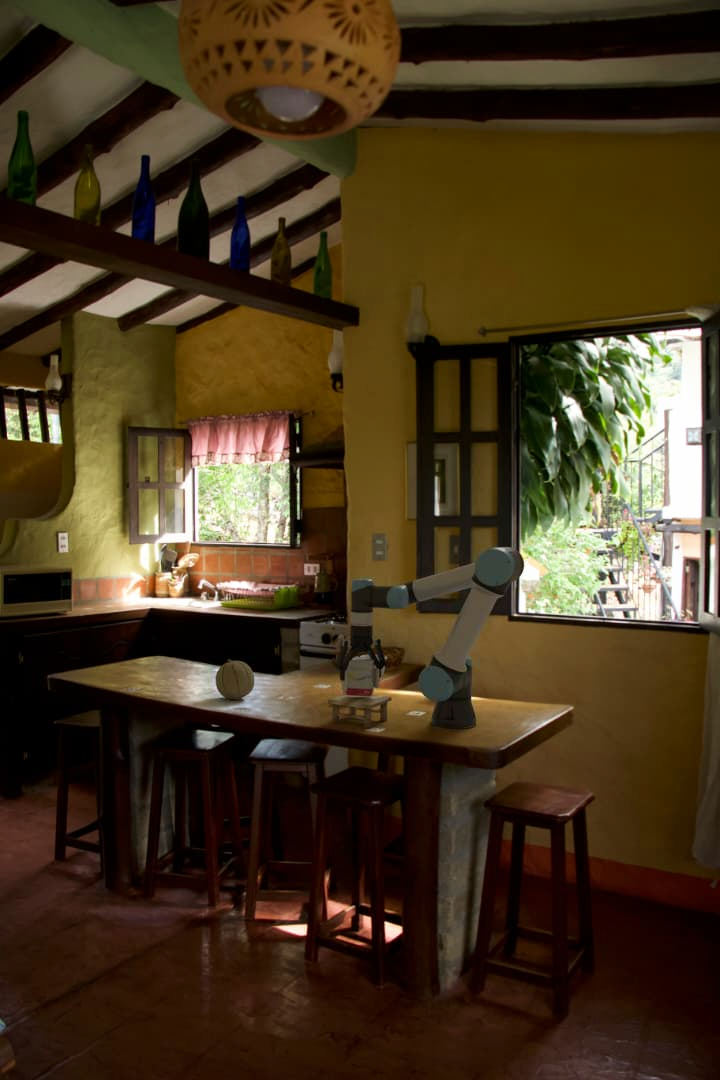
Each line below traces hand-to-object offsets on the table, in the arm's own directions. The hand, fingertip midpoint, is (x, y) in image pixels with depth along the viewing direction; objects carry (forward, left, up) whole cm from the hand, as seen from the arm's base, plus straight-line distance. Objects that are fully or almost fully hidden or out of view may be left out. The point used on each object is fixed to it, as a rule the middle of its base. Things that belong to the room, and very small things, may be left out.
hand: (360, 688), depth 300 cm
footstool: (0, 0, -11) cm, 11 cm away
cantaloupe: (+52, +26, -11) cm, 59 cm away
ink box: (0, 0, -2) cm, 2 cm away
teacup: (+69, -41, -11) cm, 81 cm away
